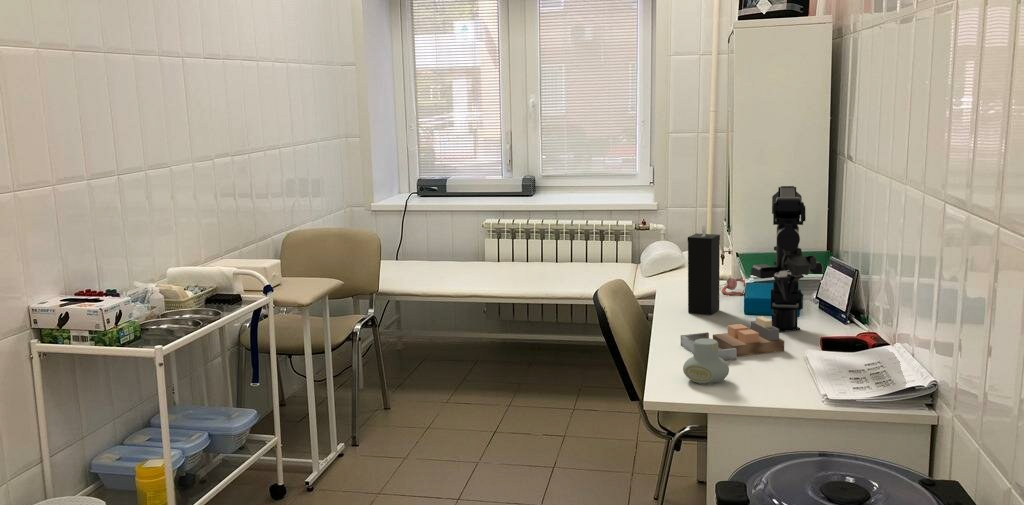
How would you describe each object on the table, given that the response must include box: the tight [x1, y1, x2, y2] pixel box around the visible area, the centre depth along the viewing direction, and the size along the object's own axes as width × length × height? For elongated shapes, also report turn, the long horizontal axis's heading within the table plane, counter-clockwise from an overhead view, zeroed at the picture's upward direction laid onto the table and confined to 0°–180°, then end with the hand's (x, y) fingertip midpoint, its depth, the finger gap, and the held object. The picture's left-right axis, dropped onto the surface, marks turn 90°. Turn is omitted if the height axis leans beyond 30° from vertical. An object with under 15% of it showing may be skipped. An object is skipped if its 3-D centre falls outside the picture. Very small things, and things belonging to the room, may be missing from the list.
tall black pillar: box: [687, 225, 721, 316], centre depth 272 cm, size 8×8×28 cm
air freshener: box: [682, 338, 730, 386], centre depth 208 cm, size 11×8×10 cm
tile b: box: [738, 328, 759, 344], centre depth 230 cm, size 4×4×2 cm
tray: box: [680, 332, 738, 362], centre depth 231 cm, size 8×17×3 cm, turn 13°
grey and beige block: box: [750, 315, 780, 341], centre depth 234 cm, size 3×10×5 cm, turn 13°
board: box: [712, 332, 785, 357], centre depth 234 cm, size 15×12×3 cm
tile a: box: [727, 323, 749, 338], centre depth 236 cm, size 4×4×2 cm
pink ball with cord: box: [719, 277, 745, 296], centre depth 296 cm, size 21×9×25 cm
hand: (786, 299), depth 234 cm, fingers closed
